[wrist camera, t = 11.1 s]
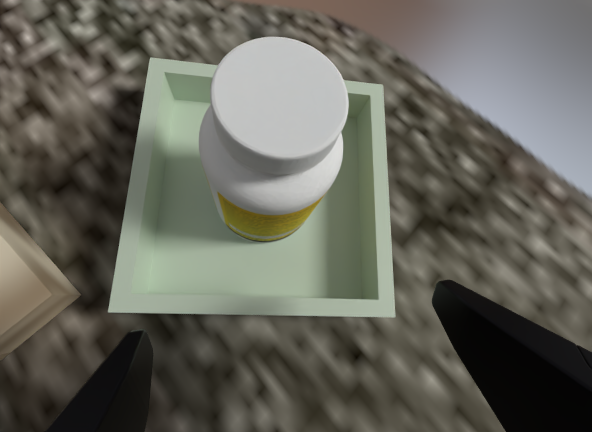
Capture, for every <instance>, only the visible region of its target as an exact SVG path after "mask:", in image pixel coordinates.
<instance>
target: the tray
mask: <svg viewBox="0 0 592 432" xmlns="http://www.w3.org/2000/svg"><path fill="white" fill-rule="evenodd" d="M217 67H218V65H210V64H201V63H193V62H184V61H176V60H167V59H159V58H150V62H149V68H148V74H147V80H146V86H145V92H144V98H143V104H142V110H141V116H140V122H139V128H138V134H137V140H136V146H135V152H134V158H133V164H132V170H131V176H130V182H129V188H128V194H127V200H126V206H125V212H124V218H123V224H122V230H121V236H120V242H119V248H118V254H117V260H116V267H115V273H114V279H113V285H112V291H111V297H110V303H109V309H108V312H113V313H172V314H231V315H291V316H350V317H395V302H394V283H393V264H392V246H391V227H390V208H389V189H388V170H387V151H386V132H385V113H384V94H383V85H380V84H371V83H363V82H354V81H346V80H344V83H345V86H346V89H347V93H348V101H349V107H348V115H347V119H346V122H345V125H344V127H343V129H342V131H341V134H342V138H343V158H342V163H341V167H340V170H339V172H338V174H337V176H336V178H335V180H334V182H333V184H332V185H331V187H330V188H329V190H328V191H327V193H326V194H325V195H324V197H323V198H322V199H321V201H320V202H319V203H318V205H317V206H316V207H315V209H314V210H313V211H312V213H311V214H310V215H309V217H308V218H307V220H306V221H305V222H304V224H303V225H302V226H301V227H300V228H299V229H298V230H297V231H295V232H294V233H293V234H292V235H290V236H288V237H287V238H285V239H282V240H280V241H277V242H272V243H256V242H251V241H248V240H245V239H243V238H241V237H239V236H237V235H236V234H234V233H233V232H232V231H231V230H230V229H229V228H228V227H227V226H226V225H225V224H224V222H223V221H222V219H221V217H220V215H219V213H218V210H217V208H216V205H215V202H214V199H213V196H212V193H211V190H210V187H209V184H208V181H207V178H206V175H205V172H204V169H203V166H202V162H201V157H200V152H199V131H200V126H201V123H202V120H203V117H204V115H205V113H206V111H207V109H208V108H209V106H210V105H211V102H210V87H211V82H212V78H213V75H214V72H215V70H216V68H217Z"/></svg>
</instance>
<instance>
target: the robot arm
mask: <svg viewBox="0 0 592 432" xmlns="http://www.w3.org/2000/svg"><path fill="white" fill-rule="evenodd" d="M432 304H433V307H434V309H435V311H436V313H437V315H438V317H439V319H440V321H441V323H442V325H443V327H444V329H445V331H446V333H447V335H448V337H449V339H450V341H451V343H452V345H453V347H454V349H455V351H456V352H457V354H458V356H459V357H460V359H461V361H462V362H463V364H464V365H465V367H466V369H467V370H468V372H469V373H470V375H471V377H472V378H473V380H474V381H475V383H476V385H477V386H478V388H479V389H480V391H481V393H482V394H483V396H484V397H485V399H486V401H487V402H488V404H489V405H490V407H491V409H492V410H493V412H494V413H495V415H496V417H497V418H498V420H499V421H500V423H501V425H502V426H503V428H504V429H505V431H506V432H592V352H590V351H588V350H586V349H584V348H582V347H581V346H578V345H577V346H576V344H574V343H573V342H571V341H569V340H567V339H565V338H563V337H561V336H559V335H557V334H555V333H553V332H551V331H549V330H547V329H545V328H544V327H542V326H540V325H538V324H536V323H534V322H532V321H530V320H528V319H526V318H524V317H522V316H520V315H518V314H516V313H514V312H512V311H511V310H509V309H507V308H505V307H503V306H501V305H499V304H497V303H495V302H493V301H491V300H489V299H487V298H485V297H483V296H481V295H480V294H478V293H476V292H474V291H472V290H470V289H468V288H466V287H464V286H462V285H460V284H458V283H456V282H454V281H452V280H443V281H439V282H438V283H437V284H436V287H435V291H434V294H433V297H432ZM152 364H153V348H152V345H151V343H150V340H149V337H148V334H147V332H146V331H145V330H144V329H141V330H135V331H130V332H128V333H127V334H126V335H125V336H124V338H123V339H122V340H121V341H120V342H119V344H118V345H117V346H116V347H115V348H114V350H113V351H112V352H111V353H110V354H109V355H108V357H107V358H106V359H105V360H104V361H103V363H102V364H101V365H100V366H99V367H98V369H97V370H96V371H95V372H94V373H93V374H92V376H91V377H90V378H89V379H88V380H87V382H86V383H85V384H84V385H83V386H82V388H81V389H80V390H79V391H78V392H77V393H76V395H75V396H74V397H73V398H72V399H71V401H70V402H69V403H68V404H67V405H66V407H65V408H64V409H63V410H62V411H61V412H60V414H59V415H58V416H57V417H56V418H55V420H54V421H53V422H52V423H51V424H50V425H49V427H48V428H47V429H46V430H45V431H44V432H145V427H146V422H147V416H148V408H149V398H150V387H151V375H152Z"/></svg>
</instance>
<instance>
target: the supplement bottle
mask: <svg viewBox="0 0 592 432" xmlns="http://www.w3.org/2000/svg"><path fill="white" fill-rule="evenodd" d="M210 102H211V105H210V106H209V108H208V109H207V111H206V113H205V115H204V117H203V120H202V123H201V126H200V131H199V152H200V157H201V162H202V166H203V169H204V172H205V175H206V178H207V181H208V184H209V187H210V190H211V193H212V196H213V199H214V202H215V205H216V208H217V210H218V213H219V215H220V217H221V219H222V221H223V222H224V224H225V225H226V226H227V227H228V228H229V229H230V230H231V231H232V232H233V233H234V234H236V235H237V236H239V237H241V238H243V239H245V240H248V241H251V242H256V243H272V242H277V241H280V240H282V239H285V238H287V237H288V236H290V235H292V234H293V233H294V232H295V231H297V230H298V229H299V228H300V227H301V226H302V225H303V224H304V222H305V221H306V220H307V218H308V217H309V215H310V214H311V213H312V211H313V210H314V209H315V207H316V206H317V205H318V203H319V202H320V201H321V199H322V198H323V197H324V195H325V194H326V193H327V191H328V190H329V188H330V187H331V185H332V184H333V182H334V180H335V178H336V176H337V174H338V172H339V170H340V167H341V163H342V158H343V138H342V134H341V131H342V129H343V127H344V125H345V122H346V119H347V115H348V107H349V101H348V93H347V89H346V86H345V83H344V80H343V78H342V76H341V74H340V73H339V71H338V70H337V68H336V67H335V66H334V64H333V63H332V62H331V61H330V60H329V59H328V58H327V57H326V56H324V55H323V54H322V53H321V52H319V51H318V50H316V49H315V48H313V47H312V46H310V45H307V44H305V43H303V42H300V41H297V40H294V39H289V38H284V37H264V38H258V39H254V40H251V41H248V42H245V43H243V44H241V45H239V46H237V47H236V48H234V49H233V50H231V51H230V52H229V53H228V54H227V55H226V56H225V57H224V58H223V59H222V61H221V62H220V64H219V65H218V67H217V68H216V70H215V72H214V75H213V78H212V82H211V87H210Z"/></svg>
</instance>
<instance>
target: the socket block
mask: <svg viewBox="0 0 592 432" xmlns="http://www.w3.org/2000/svg"><path fill="white" fill-rule="evenodd" d="M80 296H81V294H80V293H79V292H78V291H77V289H76V288H75V287H74V286H73V285H72V284H71V283H70V281H69V280H68V279H67V278H66V277H65V276H64V275H63V273H62V272H61V271H60V270H59V269H58V268H57V267H56V265H55V264H54V263H53V262H52V261H51V260H50V258H49V257H48V256H47V255H46V254H45V253H44V252H43V250H42V249H41V248H40V247H39V246H38V245H37V244H36V242H35V241H34V240H33V239H32V238H31V237H30V236H29V234H28V233H27V232H26V231H25V230H24V229H23V228H22V226H21V225H20V224H19V223H18V222H17V221H16V220H15V218H14V217H13V216H12V215H11V214H10V213H9V212H8V210H7V209H6V208H5V207H4V206H3V205H2V203H1V202H0V361H1V360H2V359H3V358H5V357H6V356H7V355H8V354H10V353H11V352H12V351H13V350H14V349H16V348H17V347H18V346H19V345H21V344H22V343H23V342H24V341H26V340H27V339H28V338H29V337H30V336H32V335H33V334H34V333H35V332H37V331H38V330H39V329H40V328H42V327H43V326H44V325H45V324H46V323H48V322H49V321H50V320H51V319H53V318H54V317H55V316H56V315H57V314H59V313H60V312H61V311H62V310H64V309H65V308H66V307H67V306H69V305H70V304H71V303H72V302H73V301H75V300H76V299H77V298H78V297H80Z"/></svg>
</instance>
